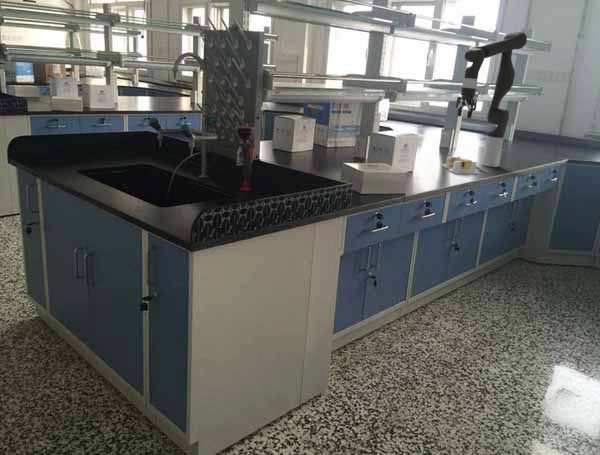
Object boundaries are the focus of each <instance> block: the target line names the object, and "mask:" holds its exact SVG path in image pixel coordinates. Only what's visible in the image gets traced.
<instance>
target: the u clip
mask: <svg viewBox="0 0 600 455" xmlns="http://www.w3.org/2000/svg"><path fill="white" fill-rule="evenodd" d="M459 161H462V162H465V163H464V168H471V165H472V161H473V160H472V159H469V158H461V157H460V159H459Z"/></svg>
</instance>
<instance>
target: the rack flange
mask: <svg viewBox="0 0 600 455" xmlns="http://www.w3.org/2000/svg"><path fill="white" fill-rule="evenodd" d="M464 163H465V162H462V161H454V164H453V169H448V172H450V173H453V174H456V175H479V174H480V172H478V171H476V170H477V169H476V166H477V163H478V162H477V161H473V160H472V165H471V168H464Z"/></svg>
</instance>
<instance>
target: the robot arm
mask: <svg viewBox="0 0 600 455" xmlns="http://www.w3.org/2000/svg"><path fill="white" fill-rule="evenodd" d="M527 42H528V38H527V34H526V33H525V32H524V31H523V32H522V31H509V32H507V33H506V34H505V36H504V37H503V39H502V40H498V41H492V42H488V43H486V44H484V45H481V46H474V47H470V48H469V49H467V50H465V52H464V59H465V61H466V62H469V63H472V64H471V65H470V66H467V67H466V68H465V71H464V76H463V77H464V78H463V81H462V85H461V91H460V96H457V98H456V99H457V100H456V104H455V108H457V115H456V116H457V117H461V116H462V113H463V108H464V107H466V108H467V116H466V119H471V118H472V116H473V112H474V111H476V110H477V103H478V99H476V98H474V97H475V96H476V91H477V87H478V86H477V85H478V78H479V71H481V70H480V69H481V67H482V66H483V63H484V61H485V59H488V58H491V57H493V56H496V55H499V54H501V55H500V62H499V68H498V73H497V76H496V82H495V86H494V91H493V95H492V99H491V103H490V106H489V110H488V113H487V119H486V120H487V123H488V124H490V125H495V126H496V125H497V127H496V128H494V129H490V130H488V131H487V135H486V138H485V144H484V150H483V155H482V161H481V165H482V166H485V167H491V168H497V167H500V164H501V160H502V159H501V158H502V153H503V150H502V146H503V141H504V137H505V134H506V131H507V126H508V122H509V119H510V112H509V110H508V109H504V108H500V104H501V102H502V100H503V98H504V97H505V96H506V95H507V94H508V93H509V91H510V90H511V89H512V87H513V85H514V81H515V78H516V77H515V76H516V73H515V68H514V64H513V62H512V55H513V51H514V50H521V49H523V48H524V47H525V46H526V45H527Z"/></svg>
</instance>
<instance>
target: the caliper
mask: <svg viewBox="0 0 600 455" xmlns="http://www.w3.org/2000/svg"><path fill="white" fill-rule="evenodd" d="M457 157H459V159H460V158H461V156H459V155H458V156H457ZM475 170H478V171H480V172H482V173H487V174H489V173H490V172H489V171H488V169H484V168H482V167H479V166H477V165H476V169H475Z"/></svg>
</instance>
